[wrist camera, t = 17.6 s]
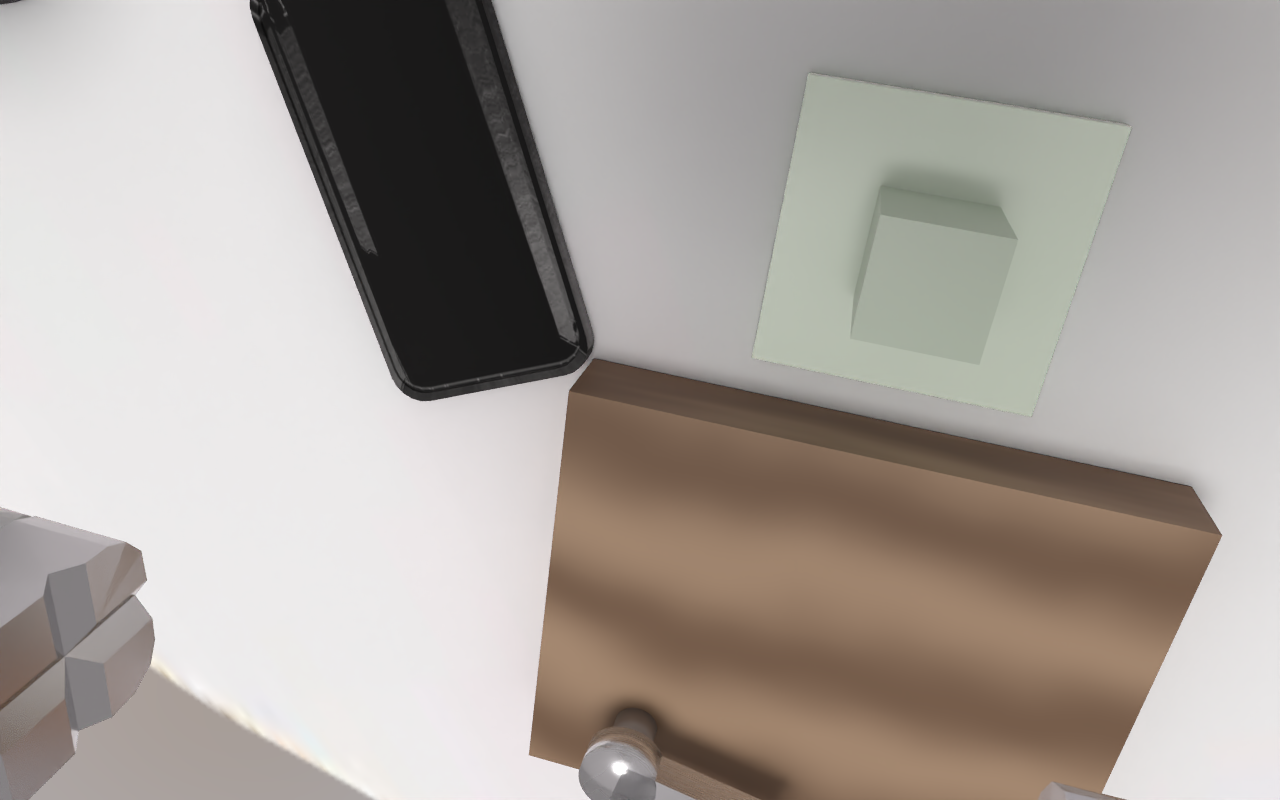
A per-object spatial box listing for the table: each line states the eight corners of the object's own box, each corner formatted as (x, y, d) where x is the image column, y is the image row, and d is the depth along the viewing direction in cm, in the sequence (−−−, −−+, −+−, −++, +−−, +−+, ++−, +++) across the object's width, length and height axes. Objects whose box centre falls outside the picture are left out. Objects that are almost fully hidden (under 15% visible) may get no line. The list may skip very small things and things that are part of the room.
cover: (810, 71, 29) (796, 87, 24) (1122, 121, 27) (1171, 149, 23) (755, 345, 32) (734, 406, 28) (1026, 402, 31) (1051, 475, 26)
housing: (594, 358, 33) (555, 408, 29) (1191, 487, 30) (1238, 561, 26) (552, 703, 40) (516, 781, 36) (1037, 836, 37) (1056, 937, 33)
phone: (451, -99, 28) (595, 369, 33) (466, -96, 29) (604, 358, 34) (235, -18, 30) (400, 407, 35) (256, -18, 31) (413, 395, 36)
